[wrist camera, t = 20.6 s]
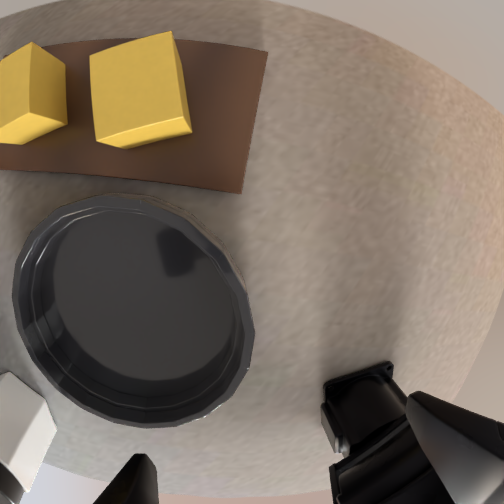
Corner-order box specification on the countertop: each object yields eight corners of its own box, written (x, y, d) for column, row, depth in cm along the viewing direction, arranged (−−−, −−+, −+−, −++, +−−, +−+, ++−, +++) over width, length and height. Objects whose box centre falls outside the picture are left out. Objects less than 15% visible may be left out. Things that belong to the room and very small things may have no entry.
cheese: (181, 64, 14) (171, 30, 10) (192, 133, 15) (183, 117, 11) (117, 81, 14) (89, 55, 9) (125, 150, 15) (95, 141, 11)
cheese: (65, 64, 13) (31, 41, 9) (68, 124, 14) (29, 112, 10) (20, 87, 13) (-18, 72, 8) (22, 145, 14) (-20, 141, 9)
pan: (222, 167, 17) (223, 164, 14) (264, 385, 21) (271, 412, 18) (11, 226, 16) (-14, 234, 13) (84, 404, 20) (73, 427, 17)
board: (265, 59, 16) (268, 51, 14) (239, 193, 18) (241, 194, 16) (11, 59, 13) (4, 55, 11) (-13, 168, 15) (-22, 169, 13)
